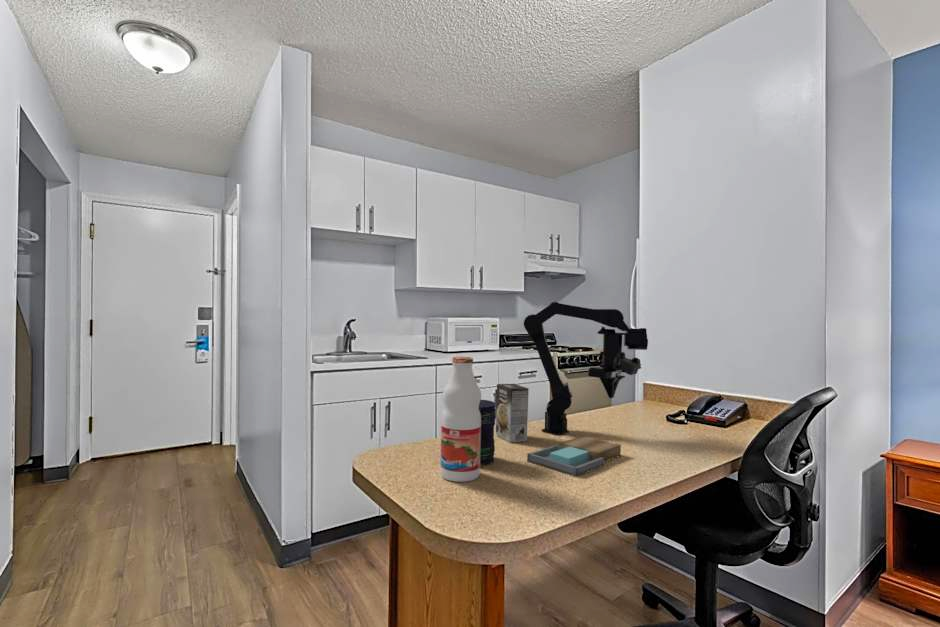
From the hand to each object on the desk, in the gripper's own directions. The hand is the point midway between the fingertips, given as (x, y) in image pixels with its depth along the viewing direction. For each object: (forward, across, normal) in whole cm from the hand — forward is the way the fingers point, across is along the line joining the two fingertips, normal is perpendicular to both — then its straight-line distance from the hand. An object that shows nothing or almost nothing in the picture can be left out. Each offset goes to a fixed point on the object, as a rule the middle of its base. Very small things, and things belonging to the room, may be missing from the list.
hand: (611, 397), depth 154 cm
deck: (+12, -22, -7) cm, 26 cm away
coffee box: (+12, -27, +18) cm, 35 cm away
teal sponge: (+11, -32, -7) cm, 35 cm away
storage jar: (+12, -50, +10) cm, 52 cm away
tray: (+12, -34, -7) cm, 37 cm away
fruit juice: (+12, -61, +4) cm, 62 cm away
